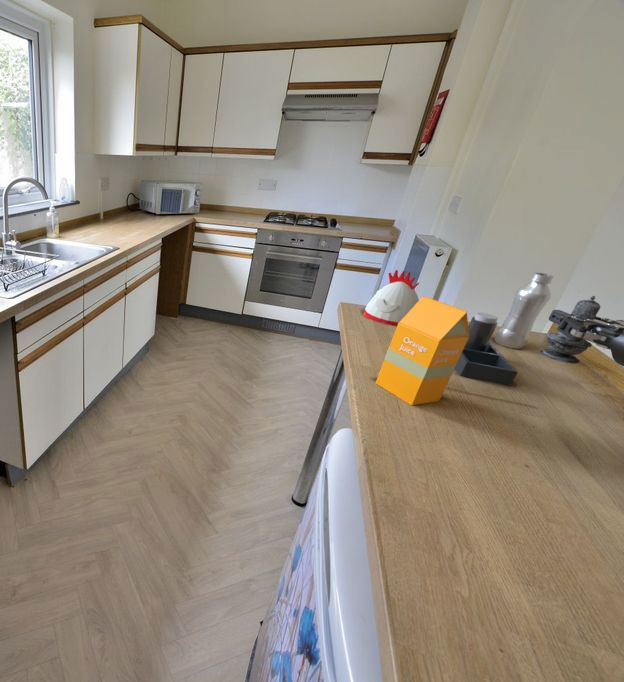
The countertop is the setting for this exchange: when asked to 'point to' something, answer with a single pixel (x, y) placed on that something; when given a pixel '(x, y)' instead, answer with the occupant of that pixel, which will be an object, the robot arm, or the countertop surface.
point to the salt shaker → (567, 347)
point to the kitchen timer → (393, 300)
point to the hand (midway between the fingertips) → (565, 315)
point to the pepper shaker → (480, 331)
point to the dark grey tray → (486, 366)
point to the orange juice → (424, 351)
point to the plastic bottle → (524, 312)
